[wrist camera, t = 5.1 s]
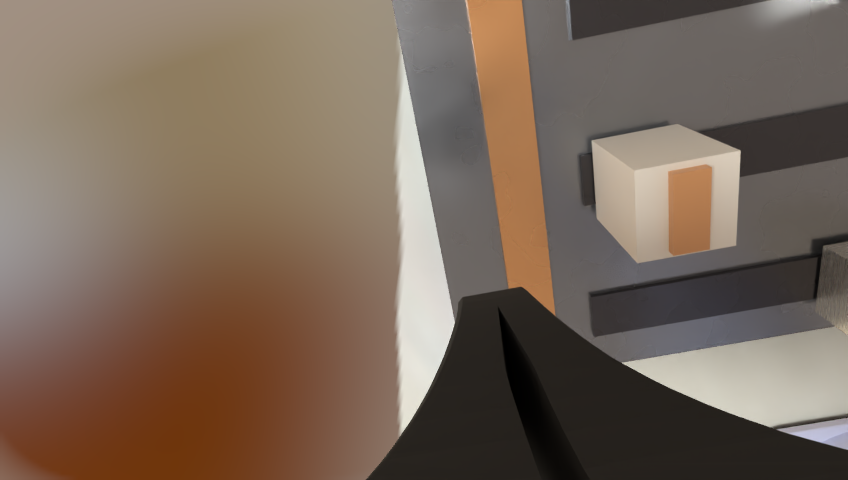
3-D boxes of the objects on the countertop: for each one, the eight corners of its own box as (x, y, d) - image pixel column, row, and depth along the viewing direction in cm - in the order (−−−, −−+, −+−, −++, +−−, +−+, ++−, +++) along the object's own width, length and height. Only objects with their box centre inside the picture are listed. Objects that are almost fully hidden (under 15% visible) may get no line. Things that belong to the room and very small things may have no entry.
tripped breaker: (677, 203, 18) (742, 250, 15) (596, 218, 19) (641, 268, 15) (677, 124, 17) (747, 152, 14) (591, 140, 17) (638, 173, 14)
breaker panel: (996, 279, 22) (1158, 353, 17) (465, 370, 23) (479, 463, 18) (1127, -202, 15) (1440, -295, 11) (384, -43, 17) (375, -65, 12)
